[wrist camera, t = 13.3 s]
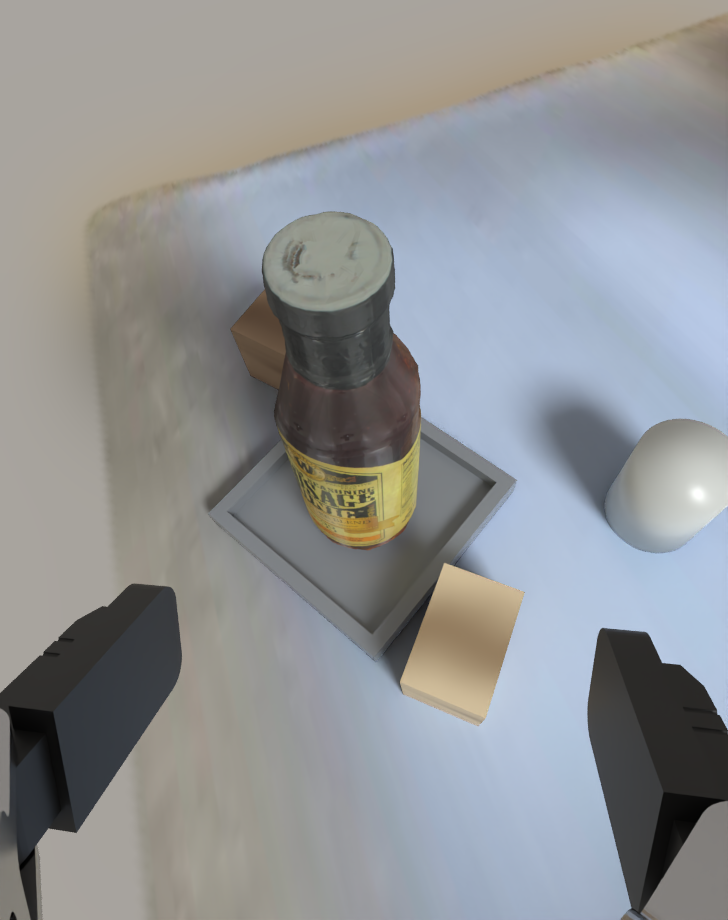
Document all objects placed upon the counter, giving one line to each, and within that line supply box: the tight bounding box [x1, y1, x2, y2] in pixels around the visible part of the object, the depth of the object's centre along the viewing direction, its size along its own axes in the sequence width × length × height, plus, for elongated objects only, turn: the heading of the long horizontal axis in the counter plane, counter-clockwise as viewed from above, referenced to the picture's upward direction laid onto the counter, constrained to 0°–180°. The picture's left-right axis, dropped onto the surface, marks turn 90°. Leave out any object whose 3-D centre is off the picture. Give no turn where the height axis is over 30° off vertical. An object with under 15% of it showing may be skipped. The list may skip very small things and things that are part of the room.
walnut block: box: [231, 290, 286, 390], centre depth 40 cm, size 5×5×5 cm
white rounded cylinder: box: [605, 419, 728, 553], centre depth 33 cm, size 5×5×6 cm
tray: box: [208, 417, 517, 662], centre depth 36 cm, size 13×13×2 cm
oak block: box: [400, 563, 525, 726], centre depth 31 cm, size 6×4×4 cm, turn 157°
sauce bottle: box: [262, 212, 421, 550], centre depth 27 cm, size 7×6×20 cm
